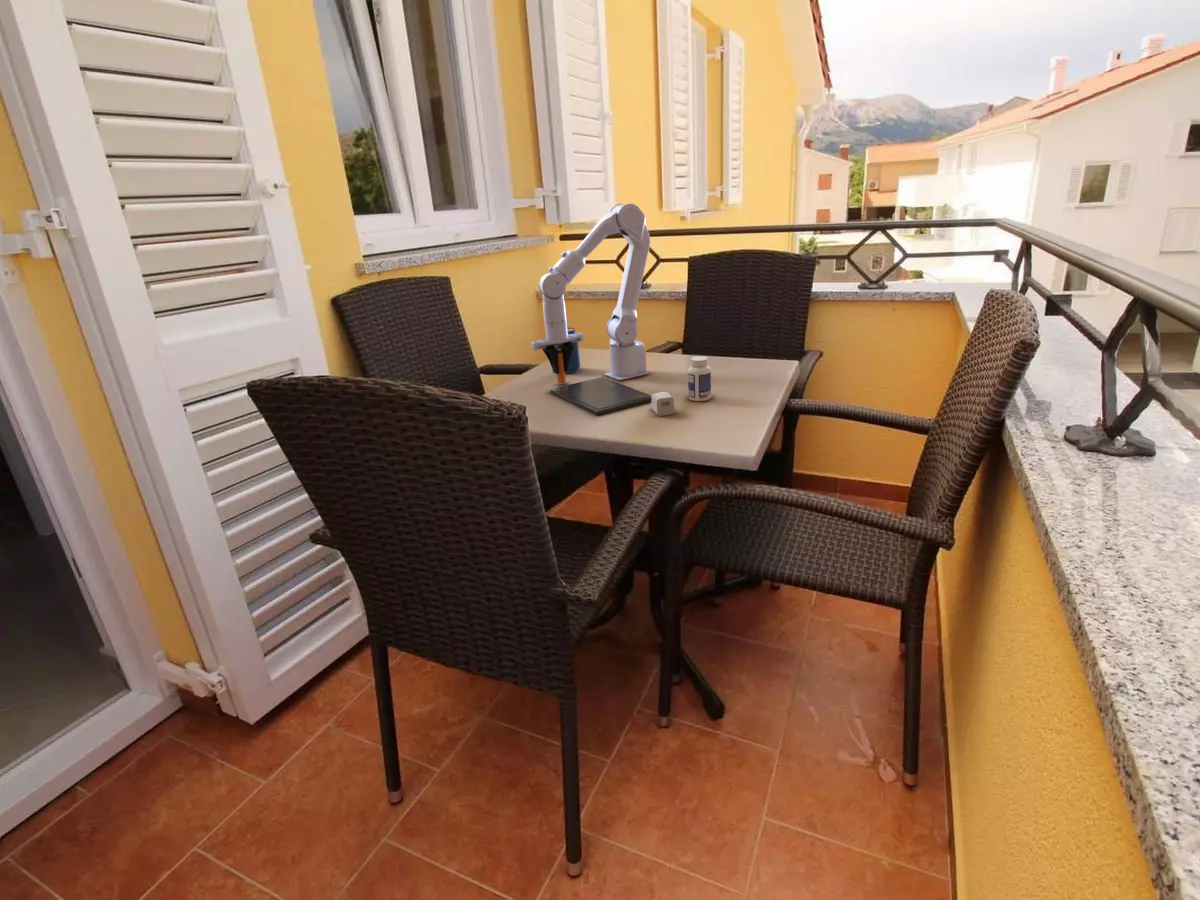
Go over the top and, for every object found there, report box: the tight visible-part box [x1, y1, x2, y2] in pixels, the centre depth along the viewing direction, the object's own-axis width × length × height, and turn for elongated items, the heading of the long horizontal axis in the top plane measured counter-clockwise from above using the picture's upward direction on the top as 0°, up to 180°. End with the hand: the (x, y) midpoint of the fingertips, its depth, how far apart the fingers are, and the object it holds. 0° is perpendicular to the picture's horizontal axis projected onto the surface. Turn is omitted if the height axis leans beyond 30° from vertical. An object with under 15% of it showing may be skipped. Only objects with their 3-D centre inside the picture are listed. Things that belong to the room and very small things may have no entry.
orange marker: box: [556, 349, 567, 385], centre depth 167 cm, size 2×2×9 cm
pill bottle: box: [687, 355, 712, 402], centre depth 147 cm, size 5×5×10 cm
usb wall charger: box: [651, 391, 675, 417], centre depth 142 cm, size 4×7×4 cm, turn 11°
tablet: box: [549, 376, 652, 416], centre depth 156 cm, size 16×24×1 cm, turn 31°
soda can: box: [554, 327, 581, 374], centre depth 179 cm, size 7×7×12 cm
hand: (560, 372), depth 168 cm, fingers closed on orange marker, 2 cm apart
